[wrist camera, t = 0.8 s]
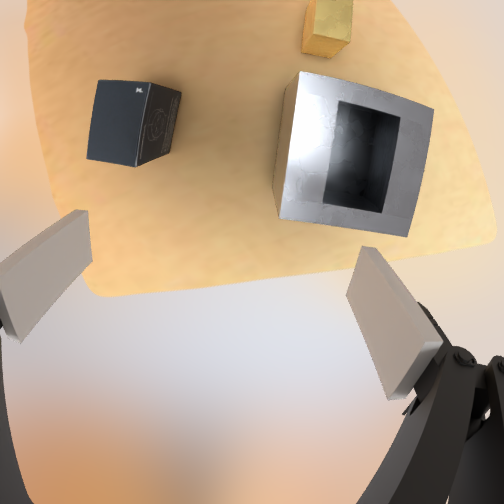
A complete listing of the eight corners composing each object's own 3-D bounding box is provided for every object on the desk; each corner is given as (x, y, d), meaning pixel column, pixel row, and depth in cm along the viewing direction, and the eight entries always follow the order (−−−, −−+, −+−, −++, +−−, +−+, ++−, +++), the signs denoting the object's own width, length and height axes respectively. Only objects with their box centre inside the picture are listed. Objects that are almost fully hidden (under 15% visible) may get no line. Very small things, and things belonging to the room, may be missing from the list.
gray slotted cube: (285, 88, 30) (299, 71, 19) (381, 110, 30) (433, 109, 19) (272, 187, 35) (279, 218, 24) (365, 201, 35) (407, 237, 24)
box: (139, 87, 29) (97, 78, 20) (182, 92, 30) (152, 81, 20) (128, 148, 33) (83, 160, 23) (169, 154, 33) (136, 168, 23)
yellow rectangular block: (305, 11, 25) (318, -16, 18) (334, 17, 25) (353, -7, 18) (300, 52, 28) (313, 33, 20) (330, 58, 28) (350, 42, 20)
